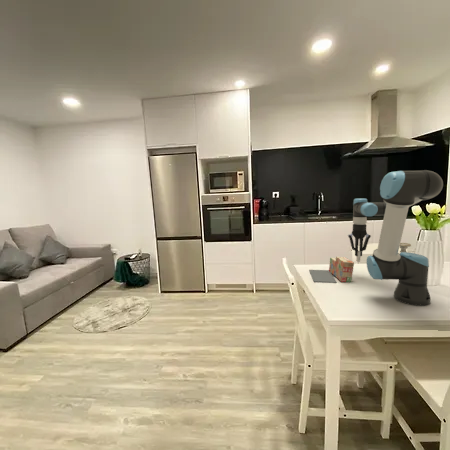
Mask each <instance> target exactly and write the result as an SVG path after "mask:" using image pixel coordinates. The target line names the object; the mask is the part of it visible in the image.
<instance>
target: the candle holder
mask: <svg viewBox="0 0 450 450" xmlns="http://www.w3.org/2000/svg"><path fill="white" fill-rule="evenodd" d="M408 247H412V244H411V243H407V242H400V246H399V249H400V250H399V254H400V253H401V252H407V249H408Z"/></svg>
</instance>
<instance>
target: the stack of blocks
mask: <svg viewBox="0 0 450 450" xmlns="http://www.w3.org/2000/svg"><path fill="white" fill-rule="evenodd" d="M354 265H355V262H353V261H352V260H351V259H348V258H347V257H345V256H336V257H330V258H329V269H328V270H329V271H330V272H331V274H332V275H333V277H334V276H335V277H336V278H337V279H338V280H339V281H340V282H342V283H352V280H353V272H354Z"/></svg>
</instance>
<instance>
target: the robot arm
mask: <svg viewBox="0 0 450 450" xmlns="http://www.w3.org/2000/svg"><path fill="white" fill-rule="evenodd" d="M443 187H444V181H443V179H442V177H441V176H440V175H439V174H438V173H437V172H434V171H432V170H427V169H424V170H423V169H421V170H397V171H391V172H388V173H387V174H385V175H384V176H383V178H382V179H381V183H380V186H379V191H380V192H379V195H380V197H381V198H382V199H383V202H382V201H381V202H380V201H379V202H376V201H375V202H369V201H368V199H367V198H354V199H353V203H352V206H353V208H352V209H353V210H352V212H353V214H352V223H353V224H352V231H351V233H350V234H347V236H348V238H349V242H350V246H351V250H353V251H354V256H355V257H356V262H358V263H360V262H361V257H362V256H363V251H366V250H367V247H368V244H369V240H370V238H371V237H372V235H371V234H369V233H367V223H368V222H367V218H368V217H373V216H375V217H376V216H377V217H378V216H381V217H382V216H383V221H382V224H381V225H382V226H381V231H380V234H379V240H378V246H377V248H376V249H374V250H373V251H372V255H368V256H367V257H366V268H367V272H368V274H369V276H370V278H372V279H374V280H381V281H383V280H398V282H397V283H398V284H397V285H396V287H395V289H394V292H393V298H394V299H395V300H397V302H400V303H404V304H408V305H411V306H419V307H420V306H428V305H430V304H431V302H432V301H431V298H432V297H431V296H430V292H429V289H428V276H429V267H430V264H429V262H430V261H429V258H428V257H427V256H426V255H422V254H418V253H415V252H414V253H413V252H407V251H406V252H401V253H400V252H399V251H400V250H399V249H400V243H402V242H401V241H402V238H403V234H404V229H405V223H406V220H407V218H408V217H407V216H408V212H409V208H410V207H411V206H414V205H416V204H418V203H420V202H421V201H428V200H430V199H433V198H435V197H437V196H438V195H439V194H440V193H441V191H442V190H443ZM353 238H354V239H353ZM364 238H365V239H364Z"/></svg>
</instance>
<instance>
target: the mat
mask: <svg viewBox="0 0 450 450" xmlns="http://www.w3.org/2000/svg"><path fill="white" fill-rule="evenodd" d="M308 271H309V274H310V276H311V278H312V281H313V282H314V283H323V284H324V283H329V284H337V280H336V278H335V277H334V275H333V274H332V273H331V272H330V271H329V269H309V270H308Z"/></svg>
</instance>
